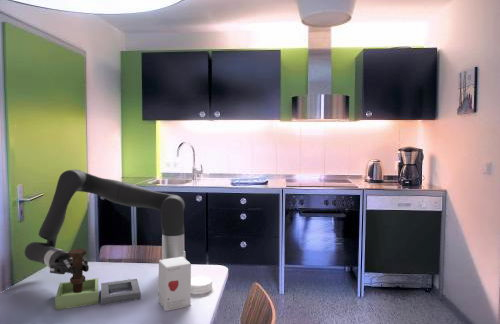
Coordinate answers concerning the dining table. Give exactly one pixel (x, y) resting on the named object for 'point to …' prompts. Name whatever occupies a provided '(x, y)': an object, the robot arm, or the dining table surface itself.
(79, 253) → the bolt
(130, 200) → the robot arm
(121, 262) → the dining table surface
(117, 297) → the square frame
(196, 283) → the white round disc
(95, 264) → the dining table surface
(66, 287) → the tray
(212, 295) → the dining table surface
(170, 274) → the supplement box
